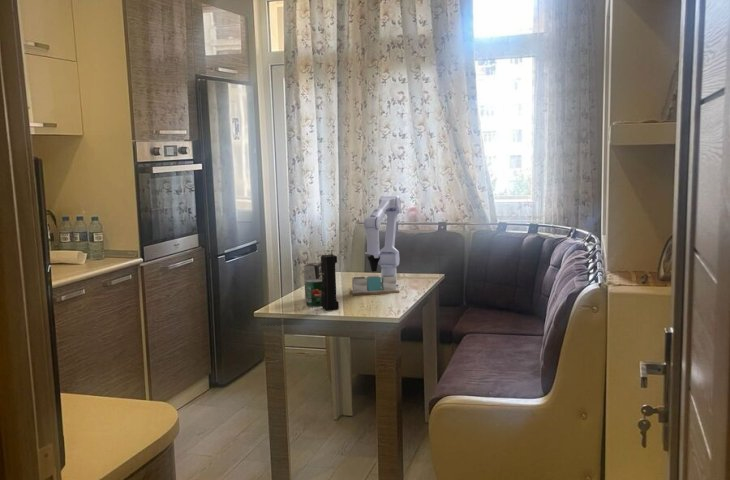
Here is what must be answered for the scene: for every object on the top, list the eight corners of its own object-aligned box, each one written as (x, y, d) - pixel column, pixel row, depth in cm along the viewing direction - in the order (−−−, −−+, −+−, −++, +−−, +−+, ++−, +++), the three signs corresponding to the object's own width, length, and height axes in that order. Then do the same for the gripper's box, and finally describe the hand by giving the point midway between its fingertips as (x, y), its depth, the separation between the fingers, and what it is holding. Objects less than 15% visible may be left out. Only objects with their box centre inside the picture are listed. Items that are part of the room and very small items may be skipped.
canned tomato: (311, 303, 303) (310, 278, 301) (327, 303, 300) (326, 278, 299) (303, 306, 295) (302, 281, 294) (319, 307, 292) (318, 282, 291)
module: (366, 289, 324) (366, 276, 324) (379, 288, 325) (378, 275, 325) (368, 291, 320) (368, 277, 319) (381, 290, 321) (380, 276, 320)
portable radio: (319, 307, 292) (317, 249, 289) (333, 306, 294) (331, 248, 292) (325, 311, 285) (323, 251, 282) (339, 309, 287) (336, 250, 284)
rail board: (349, 292, 325) (349, 276, 324) (395, 289, 329) (394, 273, 328) (352, 295, 316) (352, 279, 316) (399, 292, 320) (399, 276, 319)
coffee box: (318, 301, 305) (317, 265, 304) (304, 301, 307) (303, 265, 305) (324, 297, 314) (322, 262, 312) (310, 297, 316) (309, 262, 314)
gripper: (361, 241, 327) (362, 269, 329) (367, 244, 313) (368, 274, 315) (376, 240, 329) (377, 268, 330) (382, 243, 314) (383, 273, 316)
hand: (374, 271), depth 323 cm, fingers closed
